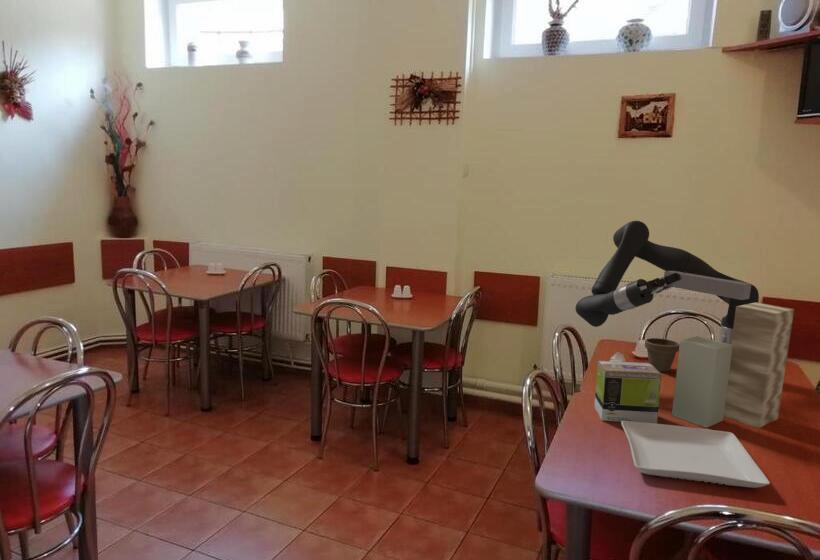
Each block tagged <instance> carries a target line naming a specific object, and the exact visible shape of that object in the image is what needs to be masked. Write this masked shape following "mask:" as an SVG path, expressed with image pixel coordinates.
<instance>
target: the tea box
mask: <svg viewBox="0 0 820 560" xmlns="http://www.w3.org/2000/svg"><path fill="white" fill-rule="evenodd" d="M595 382H596V384H595V394H594V409H595V411H596V412H598V413H597V415H598V414H599V415H598V416H599V418H600V420H601V421H604V422H618V423H619V422H620V423H621V421H632V422H644V423H655V424H658V420H659V419H658V418H659V417H658V416H659V410H660V409H659V407H660V398H661V385H662V373H661V371H658V370H657V369H656V368H655V367H654V366H652V365H651V363H649V362H636V361H635V362H634V361H633V362H631V361H630V362H629V361H626V362H617V361H610V360H598V361H597V370H596V381H595Z"/></svg>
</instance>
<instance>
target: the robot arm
mask: <svg viewBox="0 0 820 560" xmlns="http://www.w3.org/2000/svg"><path fill="white" fill-rule="evenodd" d="M649 237H650V229H649V227H648V226H647V225H646V223H644V222H643V221H640V220H632V221H629V222H627V223H626V224H624V225H622V226H621V227H620V228H618V229H617V230H616V231H615V232H614V234H613V238H612V241H613V244H614V246H616V248H617V249H616V251H615V252H614V253H613V255H612V256H611V258H610V259H609V261H608V262H607V263H606V264H605V265H604V267H603V268H602V269H601V271H600V272H599V274H598V275H597V278H596V280H595V282H594V284H593V285H592V287H591V294H592V295H591V294H590V295H587V296H584V297H582V298H580V299H579V300H578V301H577V303H576V304H575V312H576V313H577V315H578V316H579V317H581V318H582V319H583V320H584V321H585V322H587V323H588V324H589V325H590V326H592V327H593V328H594V327H595V328H597V327H598V328H599V327H600V326H603V324H604V323H606V321H607V319H608V318H609V315H610V316H611V315H612V316H613V315H617V314H619V313H623V312H625V311H628V310H632V309H633V310H634V309H635V308H638V307H640V306H643V305H646V304H649V303H651V302H652V301H653V299H654V294H655V295H657V294H660V293H662V292H663V291H665V290H669V289H671V288H672V287H670V286H667V285H668V284H671V283H673V282H676V281H678V280H680V277H679V274H678V273H674V274H671V275H669V276H666V277H664V276H661V277H656V278H654V279H651V280H645V279H644V278H639V279H637V280H634V281H632V282H629V283H627V284H624V285H623V286H622V285H621V286H620V287H618V286H619V285H620V283H621V281H622V280H623V277H624V275H625V274H626V272H627V270H628V268H629V267H630V265H631V263H632V262H633V261H634V259H635V258H638V259H640V260H643V261H644V262H645V261H646V263H647V262H648V263H649V264H650V265H653V266H655V267H657V268H659V269H661V270H662V271H664V272H665V271H677V272H683V273H690V274H696V275H702V276H708V277H714V278H720V279H726V280H732V281H738V282H744V283H748V282H747V281H744V280H741V279H738V278H736V277H735V278H734V277H731V276H729V275H727V274H724V273H722V272H719V271H718V270H716V269H715V268H713V267H712V266H711V265H709V263H707V262H706V261H704V260H703V259H701V258H700V257H698V256H697V255H694V254H693V253H691V252H689V251H687V250H684V249H681V248H679V247H673V246H666V245H661V244H657V243H656V242H655V243H654V242H653V241H650V240H649V239H650V238H649ZM667 283H668V284H667ZM750 284H751V290H750V297H749V299H745V300H739V299H734V298H728V297H723V296H718V295H715V296H716V297H718V298H719V299H721V300H722V301H723V302H725V303H726V304H727V305H728V308H727V309H728V310H727V313H726V315H725V316H723V317H722V318H721V322H720V329H719V335H718V336H719V339H718V341H719V342H723V343H727V344H731V342H732V334H733V327H734V319H735V312H736V306H741V305H746V304H750V303H755V302H757V303H759V301H760V296H759V295H760V294H759V290H758V289H757V287H756V285H753V284H752V283H750Z"/></svg>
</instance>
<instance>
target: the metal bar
mask: <svg viewBox="0 0 820 560" xmlns="http://www.w3.org/2000/svg"><path fill="white" fill-rule="evenodd" d="M674 273H678V274H679V277H680V280H678V281H676V282H673V283H671V284H668V283H667V284H668V285H667V286H670V287H671V288H676V289H681V290H687V291H692V292H697V293H703V294H708V295H714V296H716V295H718V296H723V297H728V298H734V299H739V300H745V299H749V297H750V290H751V284H752V283H750V282H747V283H744V282H745V281H744V282H738V281H732V280H726V279H720V278H714V277H708V276H702V275H696V274H690V273H683V272H677V271H665V270H664V273H663V277H666V276H669V275H671V274H674ZM718 296H717V297H718Z"/></svg>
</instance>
